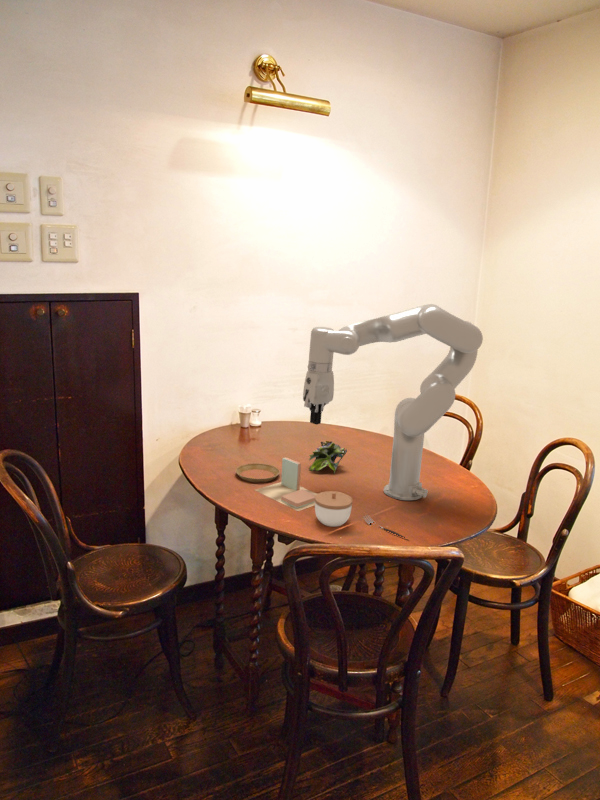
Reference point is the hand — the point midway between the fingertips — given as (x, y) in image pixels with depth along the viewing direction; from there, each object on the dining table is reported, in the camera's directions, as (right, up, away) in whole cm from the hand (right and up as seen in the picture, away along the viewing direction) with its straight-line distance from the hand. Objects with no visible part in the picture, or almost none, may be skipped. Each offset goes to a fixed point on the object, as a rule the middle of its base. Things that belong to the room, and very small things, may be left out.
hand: (315, 423), depth 198 cm
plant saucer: (-19, -19, +11) cm, 29 cm away
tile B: (-8, -21, +2) cm, 22 cm away
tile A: (-2, -22, -5) cm, 23 cm away
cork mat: (-7, -23, -4) cm, 24 cm away
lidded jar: (+4, -28, -21) cm, 35 cm away
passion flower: (+5, -18, +20) cm, 27 cm away
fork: (+20, -30, -23) cm, 43 cm away
